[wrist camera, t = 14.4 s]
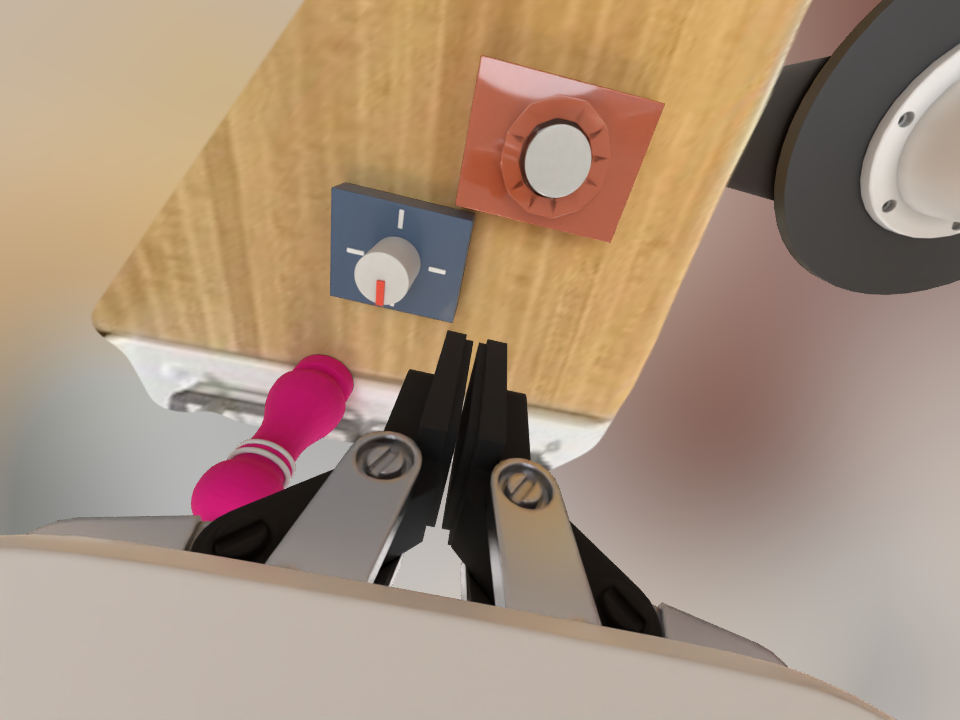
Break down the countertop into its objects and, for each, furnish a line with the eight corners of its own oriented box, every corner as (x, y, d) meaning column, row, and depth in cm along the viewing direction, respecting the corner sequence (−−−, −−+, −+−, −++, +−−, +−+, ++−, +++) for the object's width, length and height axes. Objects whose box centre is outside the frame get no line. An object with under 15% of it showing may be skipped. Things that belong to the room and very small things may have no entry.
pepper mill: (288, 391, 44) (147, 562, 27) (297, 339, 40) (141, 499, 23) (350, 413, 45) (253, 590, 28) (365, 364, 41) (263, 534, 24)
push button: (595, 132, 24) (601, 133, 23) (573, 199, 26) (578, 204, 25) (533, 116, 24) (535, 116, 22) (516, 185, 26) (517, 189, 24)
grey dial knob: (373, 231, 31) (352, 247, 27) (423, 241, 31) (410, 259, 27) (371, 279, 33) (352, 301, 29) (418, 288, 33) (405, 311, 29)
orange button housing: (646, 105, 28) (677, 101, 23) (600, 230, 33) (617, 250, 28) (484, 63, 27) (478, 48, 22) (460, 196, 32) (451, 210, 27)
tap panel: (475, 213, 33) (472, 221, 30) (456, 309, 37) (452, 324, 35) (345, 182, 32) (330, 187, 29) (342, 283, 37) (329, 296, 34)
